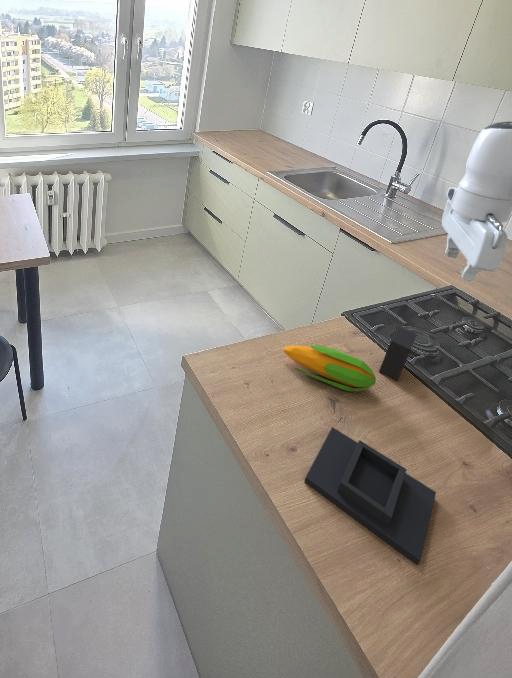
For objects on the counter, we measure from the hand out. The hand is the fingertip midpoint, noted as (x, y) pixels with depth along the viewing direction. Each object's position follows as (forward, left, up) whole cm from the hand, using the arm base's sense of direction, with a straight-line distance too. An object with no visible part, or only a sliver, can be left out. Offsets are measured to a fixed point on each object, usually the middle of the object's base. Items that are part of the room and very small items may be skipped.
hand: (457, 266), depth 85 cm
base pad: (-9, +32, -33) cm, 47 cm away
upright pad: (+4, -1, -33) cm, 33 cm away
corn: (+11, +16, -33) cm, 38 cm away
